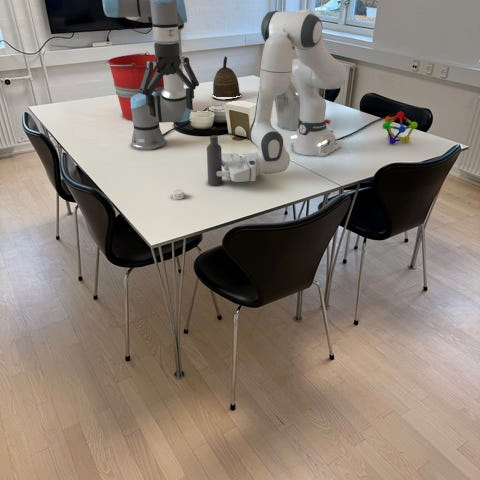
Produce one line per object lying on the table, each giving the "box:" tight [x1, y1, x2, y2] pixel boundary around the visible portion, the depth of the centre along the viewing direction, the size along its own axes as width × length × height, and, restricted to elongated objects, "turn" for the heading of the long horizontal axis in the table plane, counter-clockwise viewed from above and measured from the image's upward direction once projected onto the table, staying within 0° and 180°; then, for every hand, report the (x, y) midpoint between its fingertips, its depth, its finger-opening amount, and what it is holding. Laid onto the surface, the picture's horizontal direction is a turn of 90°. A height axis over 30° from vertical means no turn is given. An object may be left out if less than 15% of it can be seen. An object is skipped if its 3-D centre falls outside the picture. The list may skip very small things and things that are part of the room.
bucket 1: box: [104, 51, 164, 121], centre depth 240 cm, size 35×35×30 cm
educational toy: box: [382, 110, 418, 145], centre depth 207 cm, size 16×13×15 cm
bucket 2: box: [274, 82, 326, 131], centre depth 226 cm, size 30×30×28 cm
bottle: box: [206, 134, 223, 187], centre depth 166 cm, size 5×5×19 cm
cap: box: [172, 188, 185, 200], centre depth 160 cm, size 4×4×2 cm
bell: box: [212, 56, 242, 97], centre depth 278 cm, size 19×26×20 cm
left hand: (171, 112), depth 145 cm, fingers open, 13 cm apart
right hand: (213, 168), depth 168 cm, fingers open, 8 cm apart
